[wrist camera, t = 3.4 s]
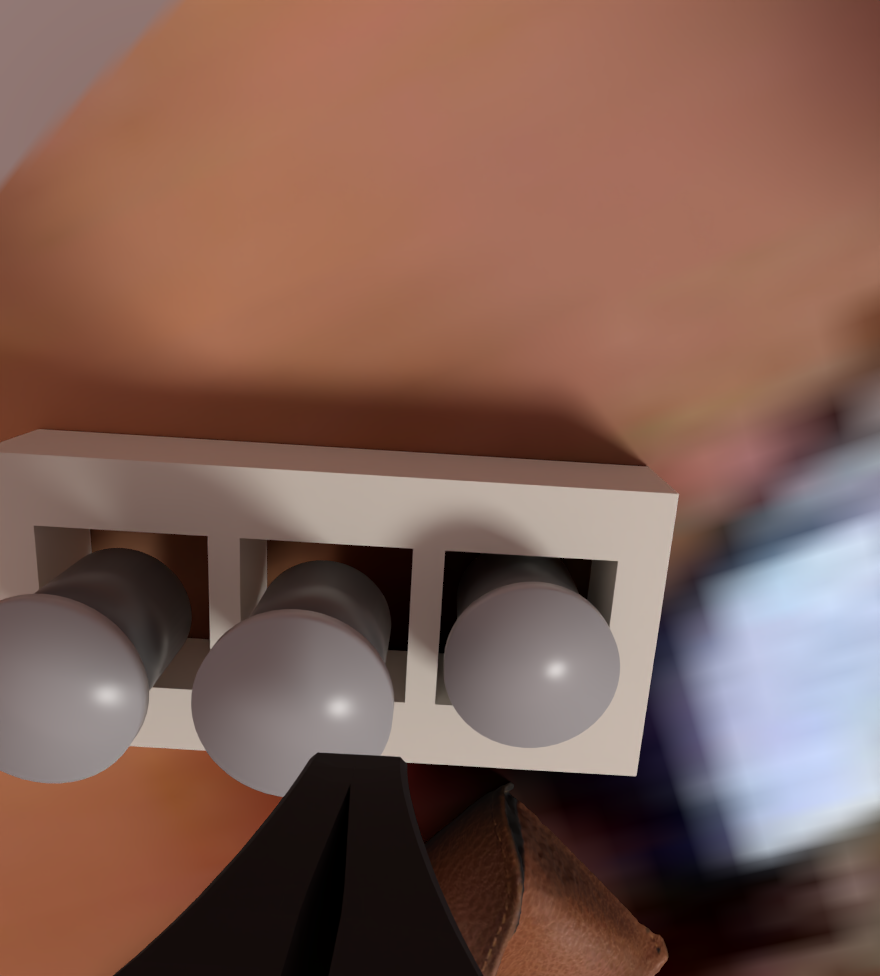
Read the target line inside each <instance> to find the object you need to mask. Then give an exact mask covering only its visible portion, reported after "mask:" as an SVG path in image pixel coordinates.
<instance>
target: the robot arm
mask: <svg viewBox="0 0 880 976" xmlns="http://www.w3.org/2000/svg"><path fill="white" fill-rule="evenodd" d="M113 976H483V974H482V972H481V970H480V968H479V966H478V965H477V963H476V961H475V959H474V957H473V955H472V953H471V952H470V950H469V948H468V946H467V944H466V942H465V940H464V938H463V936H462V934H461V932H460V930H459V928H458V926H457V923H456V921H455V919H454V917H453V915H452V913H451V911H450V908H449V906H448V904H447V901H446V899H445V897H444V895H443V892H442V890H441V888H440V885H439V883H438V880H437V878H436V875H435V873H434V870H433V868H432V865H431V862H430V859H429V856H428V853H427V851H426V848H425V845H424V842H423V839H422V836H421V833H420V830H419V827H418V824H417V820H416V816H415V813H414V809H413V805H412V801H411V796H410V791H409V785H408V777H407V764H406V762H405V761H404V760H403V759H402V758H401V757H396V756H377V755H358V754H339V753H320V752H317V753H316V754H315V755H314V756H313V757H311V758H310V759H309V761H308V762H307V764H306V765H305V767H304V769H303V770H302V772H301V773H300V775H299V776H298V777H297V779H296V780H295V782H294V783H293V785H292V786H291V787H290V789H289V790H288V792H287V793H286V794H285V796H284V797H283V798H282V800H281V801H280V802H279V804H278V805H277V806H276V808H275V809H274V810H273V812H272V813H271V814H270V815H269V817H268V818H267V819H266V820H265V821H264V823H263V824H262V825H261V826H260V828H259V829H258V830H257V831H256V832H255V834H254V835H253V836H252V837H251V839H250V840H249V841H248V842H247V844H246V845H245V846H244V847H243V848H242V849H241V851H240V852H239V853H238V854H237V855H236V856H235V858H234V859H233V860H232V861H231V862H230V863H229V864H228V865H227V866H226V867H225V868H224V870H223V871H222V872H221V873H220V874H219V875H218V876H217V877H216V878H215V879H214V880H213V881H212V883H211V884H210V885H209V886H208V887H207V888H206V889H205V890H204V891H203V892H202V893H201V895H200V896H199V897H198V898H197V899H196V900H195V901H194V902H193V903H192V904H191V905H190V906H189V907H188V908H187V909H186V910H185V911H184V912H183V913H182V914H181V915H180V916H179V917H178V918H177V919H176V920H175V921H174V922H173V923H171V924H170V925H169V926H168V927H167V928H166V929H165V930H164V931H163V932H162V933H161V934H160V935H159V936H158V937H157V938H155V939H154V940H153V941H152V942H151V943H150V944H149V945H148V946H147V947H146V948H145V949H144V950H142V951H141V952H140V953H139V954H138V955H137V956H136V957H135V958H133V959H132V960H131V961H130V962H129V963H127V964H126V965H125V966H124V967H123V968H121V969H120V970H119V971H118V972H117V973H116V974H114V975H113Z"/></svg>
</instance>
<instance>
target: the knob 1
mask: <svg viewBox="0 0 880 976" xmlns="http://www.w3.org/2000/svg"><path fill="white" fill-rule="evenodd" d="M191 620H192V613H191V605H190V601H189V598H188V595H187V592H186V590H185V588H184V587H183V585H182V583H181V582H180V580H179V579H178V577H177V576H176V575H175V574H174V573H173V572H172V571H171V570H170V569H169V568H168V567H167V566H166V565H164V564H163V563H162V562H160V561H159V560H157V559H156V558H154V557H152V556H150V555H148V554H145V553H143V552H140V551H136V550H132V549H125V548H109V549H103V550H99V551H95V552H93V553H91V554H88V555H86V556H85V557H83V558H81V559H80V560H79V561H77V562H76V563H75V564H73V565H72V566H70V567H69V568H68V569H66V570H65V571H64V572H62V573H61V574H60V575H58V576H57V577H56V578H54V579H53V580H51V581H50V582H49V583H47V584H46V585H45V586H43V587H42V588H41V589H39V590H38V591H37V592H35V593H34V594H24V595H17V596H13V597H9V598H5V599H3V600H0V770H1V771H3V772H5V773H7V774H9V775H12V776H15V777H18V778H21V779H25V780H29V781H34V782H42V783H66V782H74V781H78V780H82V779H86V778H88V777H91V776H93V775H96V774H98V773H100V772H102V771H103V770H105V769H107V768H108V767H109V766H111V765H112V764H113V763H115V762H116V761H117V760H118V759H119V758H120V757H121V756H122V755H123V754H124V752H125V751H126V750H127V748H128V747H129V746H130V744H131V743H132V741H133V740H134V738H135V737H136V736H137V734H138V733H139V731H140V729H141V727H142V725H143V723H144V720H145V717H146V714H147V710H148V705H149V691H150V689H151V688H152V687H153V685H154V684H155V683H156V681H157V680H158V679H159V677H160V676H161V675H162V673H163V672H164V671H165V669H166V668H167V667H168V665H169V664H170V663H171V661H172V660H173V658H174V657H175V656H176V654H177V653H178V652H179V650H180V649H181V648H182V646H183V645H184V643H185V641H186V639H187V637H188V635H189V632H190V627H191Z"/></svg>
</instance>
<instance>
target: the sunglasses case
mask: <svg viewBox="0 0 880 976" xmlns="http://www.w3.org/2000/svg"><path fill="white" fill-rule="evenodd" d="M513 787H514V784H512V783H511V782H510V783H507V784H505V785H502V786H500V787H499V788H498V789H496V790H495V791H492V792H489V793H487V794H486V795H484V796H483V797H482V798H480V799H479V800H478V801H476V802H475V803H474V804H472V805H471V806H470V807H468V808H467V809H466V810H465V811H464V812H463V813H461V814H460V815H459V816H458V817H457V818H456V819H455V820H453V821H452V822H451V823H449V824H448V825H447V826H445V827H444V828H443V829H442V830H440V831H439V832H438V833H437V834H436V835H435V836H434V837H432V838H431V839H430V840H429V841H428V842H427V843H426V844H424V845H425V848H426V851H427V853H428V856H429V859H430V862H431V865H432V868H433V870H434V873H435V875H436V878H437V880H438V883H439V885H440V888H441V890H442V892H443V895H444V897H445V899H446V901H447V904H448V906H449V908H450V911H451V913H452V915H453V917H454V919H455V921H456V923H457V926H458V928H459V930H460V932H461V934H462V936H463V938H464V940H465V942H466V944H467V946H468V948H469V950H470V952H471V953H472V955H473V957H474V959H475V961H476V963H477V965H478V966H479V968H480V970H481V972H482V974H483V976H654V975H655V974H657V973H658V972H659V970H660V968H661V967H662V966H663V965H664V964H665V962H666V961H667V960H668V951H667V948H666V945H665V943H664V940H663V938H662V937H661V936H660V935H656V934H653V933H652V932H651V931H650V930H649V929H648V928H646V927H645V926H643V925H641V924H640V923H638V921H637V920H636V918H635V917H633V916H632V914H631V913H630V912H629V911H628V910H627V908H625V907H624V905H622V904H621V903H620V902H619V900H618V899H617V898H616V897H615V896H614V895H613V893H611V892H610V891H609V890H608V889H607V888H606V887H605V886H604V885H603V884H602V882H601V881H600V880H598V879H597V877H596V876H595V875H594V874H593V873H592V872H590V871H589V870H588V868H587V867H586V866H585V865H584V864H583V863H582V862H581V861H579V860H578V859H577V858H576V856H575V855H574V853H572V852H570V850H569V849H568V848H567V847H566V846H565V845H564V844H563V843H562V842H561V841H560V840H559V839H558V838H557V837H556V836H555V835H554V834H553V833H552V832H551V831H550V830H549V829H548V828H547V827H546V826H544V825H543V824H541V822H540V820H539V819H538V817H537V816H536V815H535V814H534V813H532V812H531V810H529V809H527V808H526V807H525V805H524V804H523V803H521V802H519V801H517V800H516V798H514V797H513V796H512V795H510V793H509V791H510V790H512V789H513Z"/></svg>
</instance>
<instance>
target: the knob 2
mask: <svg viewBox="0 0 880 976" xmlns="http://www.w3.org/2000/svg"><path fill="white" fill-rule="evenodd" d="M619 677H620V657H619V652H618V648H617V644H616V642H615V639H614V637H613V634H612V632H611V630H610V628H609V626H608V624H607V623H606V621H605V619H604V617H603V616H602V615H601V614H600V612H599V611H598V610H597V609H596V608H595V607H594V606H593V605H592V604H591V603H590V602H589V601H588V600H586V599H585V598H584V597H582V596H581V595H579V593H578V590H577V588H576V585H575V583H574V581H573V578H572V576H571V574H570V572H569V570H568V569H567V567H566V566H565V565H564V563H563V562H562V561H561V560H560V559H559V558H558V557H542V556H526V555H509V554H493V553H482V554H481V555H479V556H478V557H477V558H476V559H475V560H474V561H473V562H471V564H470V565H469V566H468V567H467V569H466V570H465V572H464V573H463V575H462V577H461V580H460V582H459V586H458V590H457V621H456V622H455V624H454V625H453V627H452V629H451V631H450V634H449V636H448V639H447V642H446V646H445V652H444V680H445V687H446V690H447V693H448V697H449V699H450V701H451V703H452V705H453V707H454V708H455V710H456V711H457V713H458V714H459V716H460V717H461V718H462V719H463V720H464V721H465V722H466V723H467V724H468V725H469V726H470V727H471V728H472V729H474V730H475V731H476V732H478V733H479V734H481V735H482V736H484V737H486V738H488V739H490V740H492V741H495V742H498V743H501V744H504V745H508V746H513V747H521V748H538V747H547V746H551V745H555V744H559V743H562V742H564V741H567V740H569V739H571V738H573V737H576V736H578V735H579V734H581V733H582V732H584V731H585V730H587V729H588V728H589V727H590V726H592V725H593V724H594V723H595V722H596V721H597V720H598V719H599V718H600V717H601V716H602V715H603V713H604V712H605V710H606V709H607V708H608V706H609V705H610V703H611V701H612V699H613V697H614V695H615V692H616V689H617V686H618V681H619Z"/></svg>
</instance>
